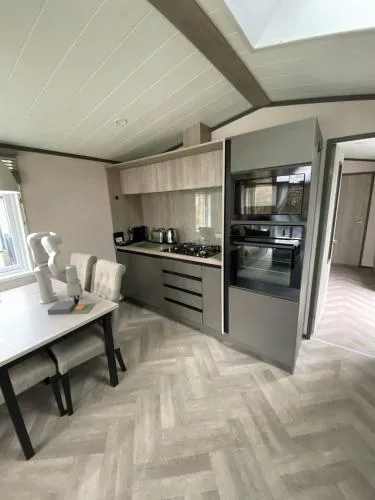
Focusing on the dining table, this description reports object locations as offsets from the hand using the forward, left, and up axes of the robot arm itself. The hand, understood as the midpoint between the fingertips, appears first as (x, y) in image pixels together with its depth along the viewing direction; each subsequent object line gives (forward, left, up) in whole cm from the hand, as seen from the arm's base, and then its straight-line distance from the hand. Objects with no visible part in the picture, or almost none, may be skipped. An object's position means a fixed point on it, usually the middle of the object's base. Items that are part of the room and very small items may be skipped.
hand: (76, 303), depth 171 cm
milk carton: (-19, -10, -5) cm, 22 cm away
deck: (0, -11, -5) cm, 12 cm away
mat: (0, +4, -5) cm, 6 cm away
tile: (0, +3, -3) cm, 4 cm away
